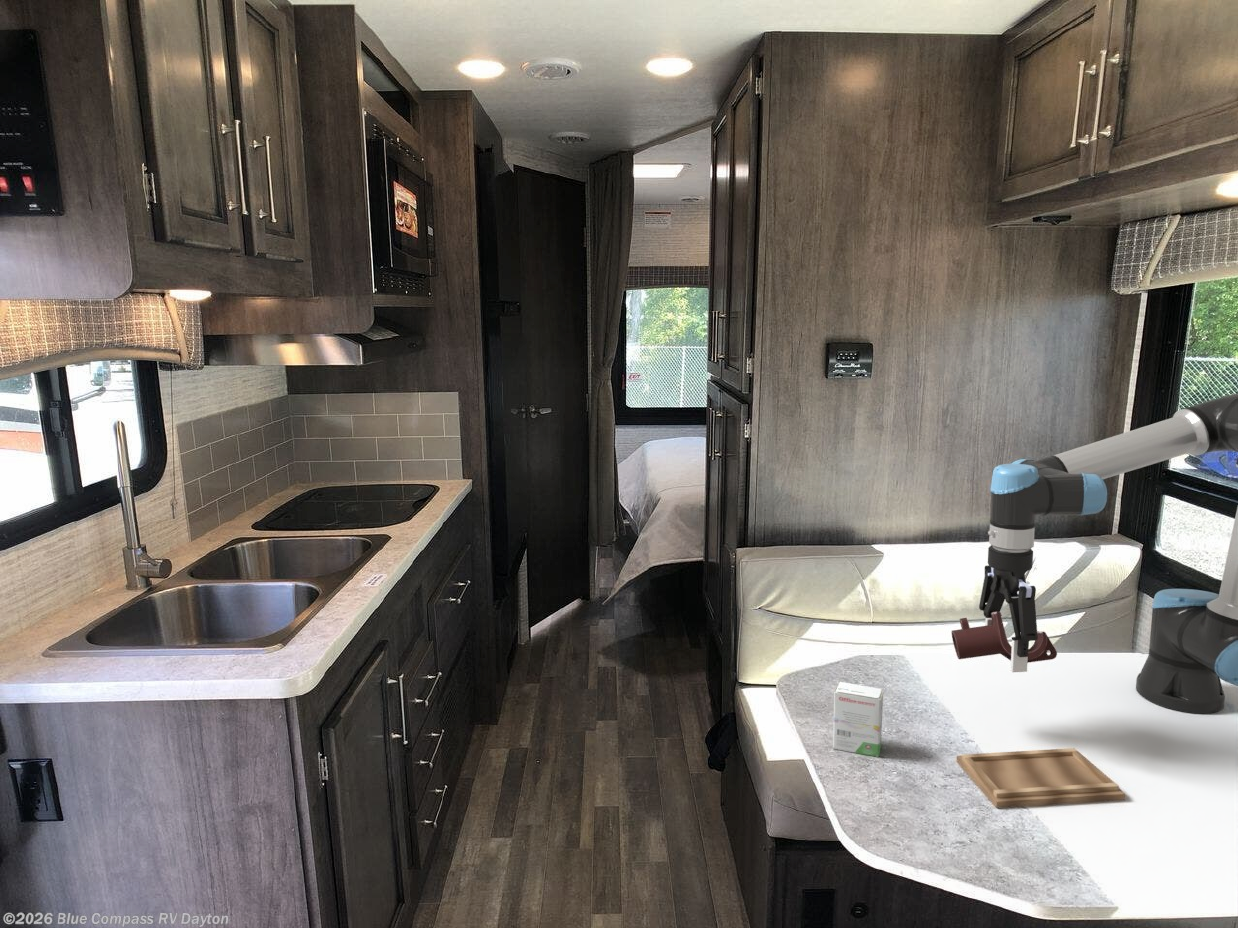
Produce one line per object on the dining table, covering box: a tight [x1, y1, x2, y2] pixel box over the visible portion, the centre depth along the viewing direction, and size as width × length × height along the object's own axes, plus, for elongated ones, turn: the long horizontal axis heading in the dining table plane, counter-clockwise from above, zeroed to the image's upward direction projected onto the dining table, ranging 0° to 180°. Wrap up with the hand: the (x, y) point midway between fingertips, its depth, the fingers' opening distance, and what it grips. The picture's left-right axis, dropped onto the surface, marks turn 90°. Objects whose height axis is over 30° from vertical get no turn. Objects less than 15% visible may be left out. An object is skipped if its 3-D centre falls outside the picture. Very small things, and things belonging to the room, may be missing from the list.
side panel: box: [956, 747, 1126, 809], centre depth 136 cm, size 22×14×2 cm, turn 93°
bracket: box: [951, 611, 1058, 664], centre depth 149 cm, size 6×17×10 cm, turn 78°
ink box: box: [832, 681, 884, 758], centre depth 148 cm, size 9×5×12 cm, turn 65°
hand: (1004, 659), depth 149 cm, fingers closed on bracket, 9 cm apart
